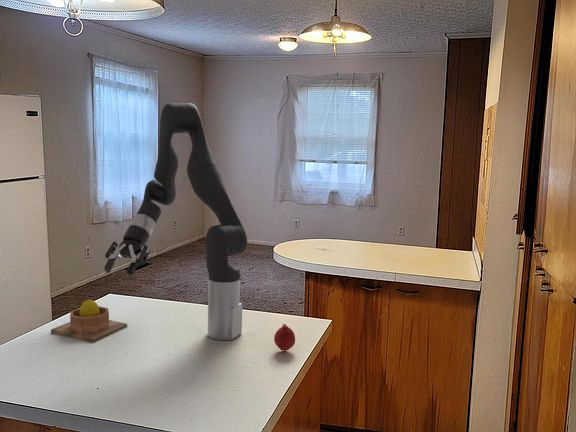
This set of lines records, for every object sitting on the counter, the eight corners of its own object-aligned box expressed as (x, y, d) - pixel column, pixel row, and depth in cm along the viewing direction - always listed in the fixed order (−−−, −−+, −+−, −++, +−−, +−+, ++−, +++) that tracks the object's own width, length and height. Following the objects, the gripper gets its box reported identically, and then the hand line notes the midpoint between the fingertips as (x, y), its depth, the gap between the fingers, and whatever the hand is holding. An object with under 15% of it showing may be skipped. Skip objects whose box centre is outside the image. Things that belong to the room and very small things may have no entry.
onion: (294, 347, 148) (295, 320, 147) (295, 355, 143) (296, 327, 142) (273, 347, 148) (274, 320, 147) (273, 355, 142) (274, 327, 141)
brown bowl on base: (127, 326, 160) (127, 309, 159) (93, 342, 147) (93, 323, 146) (86, 318, 166) (86, 301, 165) (51, 332, 153) (50, 314, 152)
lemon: (79, 329, 153) (78, 303, 152) (80, 322, 158) (79, 297, 157) (99, 327, 155) (98, 302, 153) (100, 321, 160) (99, 295, 158)
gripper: (116, 222, 173) (93, 263, 165) (152, 226, 168) (130, 269, 159) (127, 235, 179) (105, 276, 170) (162, 239, 174) (141, 281, 165)
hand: (117, 272), depth 165 cm, fingers open, 8 cm apart
